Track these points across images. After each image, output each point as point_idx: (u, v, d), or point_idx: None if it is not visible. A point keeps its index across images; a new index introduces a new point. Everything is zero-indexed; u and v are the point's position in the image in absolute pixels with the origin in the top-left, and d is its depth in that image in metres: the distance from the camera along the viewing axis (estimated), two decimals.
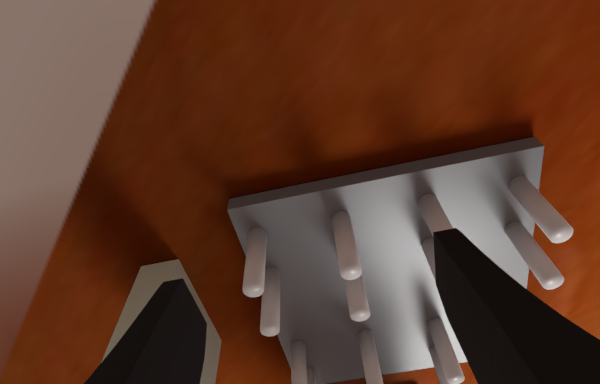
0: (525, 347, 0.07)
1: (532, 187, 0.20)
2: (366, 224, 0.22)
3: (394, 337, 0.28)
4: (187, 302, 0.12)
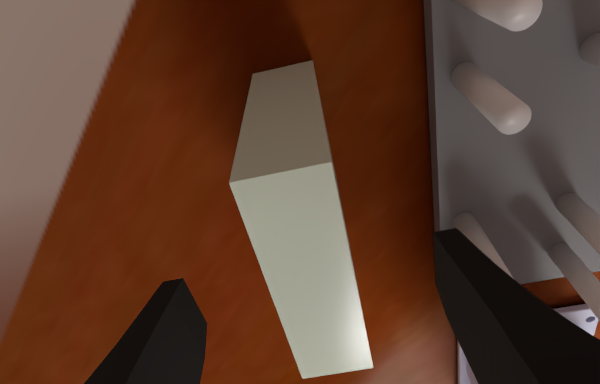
0: (525, 347, 0.07)
1: None
2: None
3: None
4: (187, 302, 0.12)
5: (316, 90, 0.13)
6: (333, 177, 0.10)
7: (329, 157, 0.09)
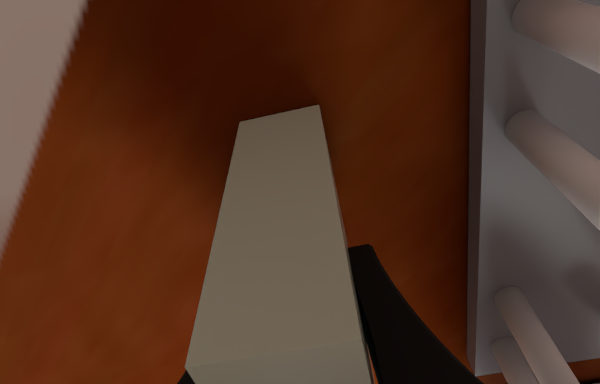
0: (389, 368, 0.07)
1: None
2: None
3: None
4: None
5: (326, 161, 0.09)
6: (363, 357, 0.06)
7: (356, 325, 0.06)
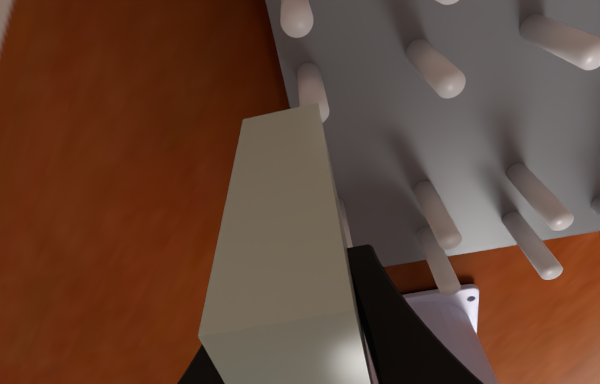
0: (389, 368, 0.07)
1: None
2: None
3: (461, 195, 0.21)
4: None
5: (325, 156, 0.10)
6: (356, 327, 0.06)
7: (350, 298, 0.06)
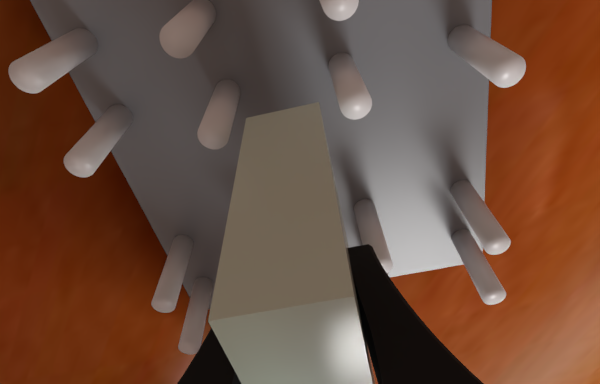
0: (389, 368, 0.07)
1: None
2: (242, 25, 0.15)
3: None
4: None
5: (325, 153, 0.10)
6: (355, 312, 0.07)
7: (350, 285, 0.07)
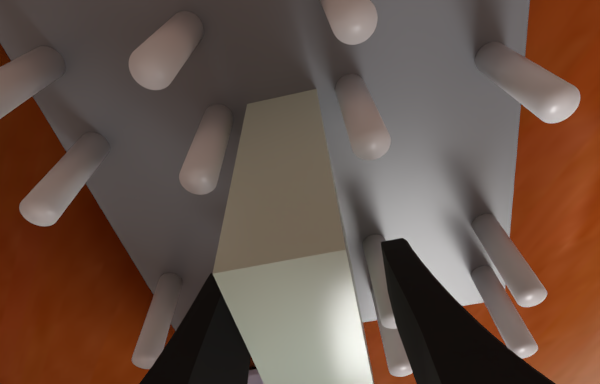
0: (442, 360, 0.07)
1: None
2: (234, 43, 0.13)
3: None
4: None
5: (322, 132, 0.11)
6: (347, 266, 0.07)
7: (342, 241, 0.07)
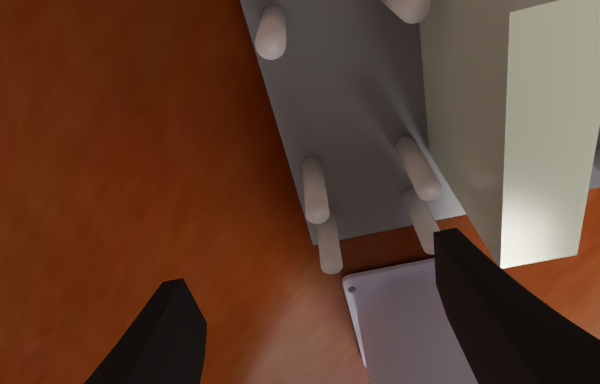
0: (525, 347, 0.07)
1: None
2: None
3: None
4: (187, 302, 0.12)
5: None
6: None
7: None
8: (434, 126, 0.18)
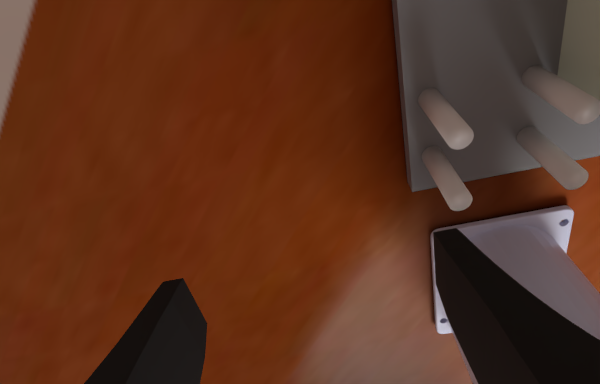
0: (525, 347, 0.07)
1: None
2: None
3: None
4: (187, 302, 0.12)
5: None
6: None
7: None
8: (579, 49, 0.16)
